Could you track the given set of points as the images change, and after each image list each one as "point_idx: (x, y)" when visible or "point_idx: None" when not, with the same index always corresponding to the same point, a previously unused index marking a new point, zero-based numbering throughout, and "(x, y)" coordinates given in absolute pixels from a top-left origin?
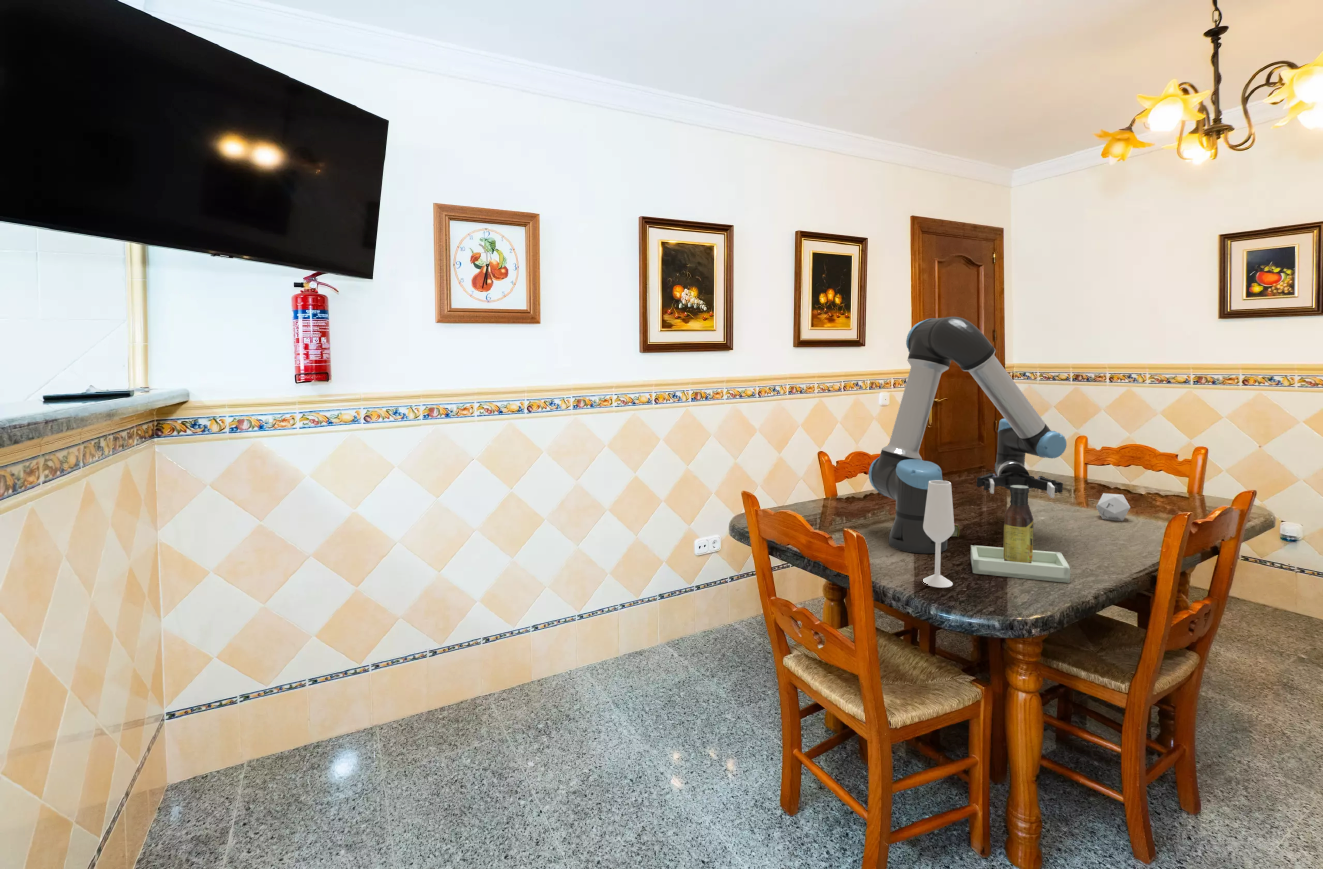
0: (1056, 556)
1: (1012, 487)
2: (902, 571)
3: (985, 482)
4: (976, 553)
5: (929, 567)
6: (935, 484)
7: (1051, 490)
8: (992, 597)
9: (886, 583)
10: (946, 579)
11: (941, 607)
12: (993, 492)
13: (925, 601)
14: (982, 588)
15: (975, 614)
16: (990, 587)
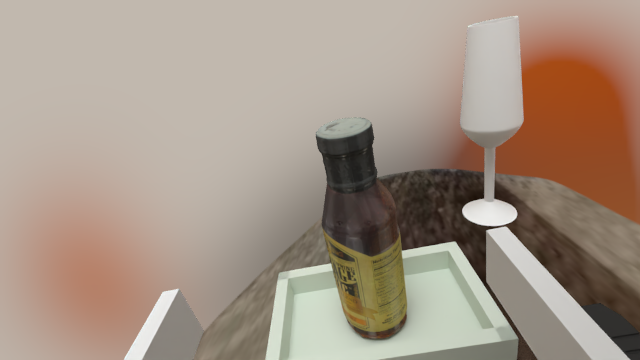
0: (281, 357)
1: (363, 118)
2: (576, 222)
3: (623, 322)
4: (466, 275)
5: (552, 258)
6: (490, 20)
7: (186, 302)
8: (398, 205)
9: (549, 182)
10: (473, 208)
11: (443, 169)
12: (489, 276)
13: (466, 170)
14: (418, 221)
15: (405, 172)
16: (408, 228)
